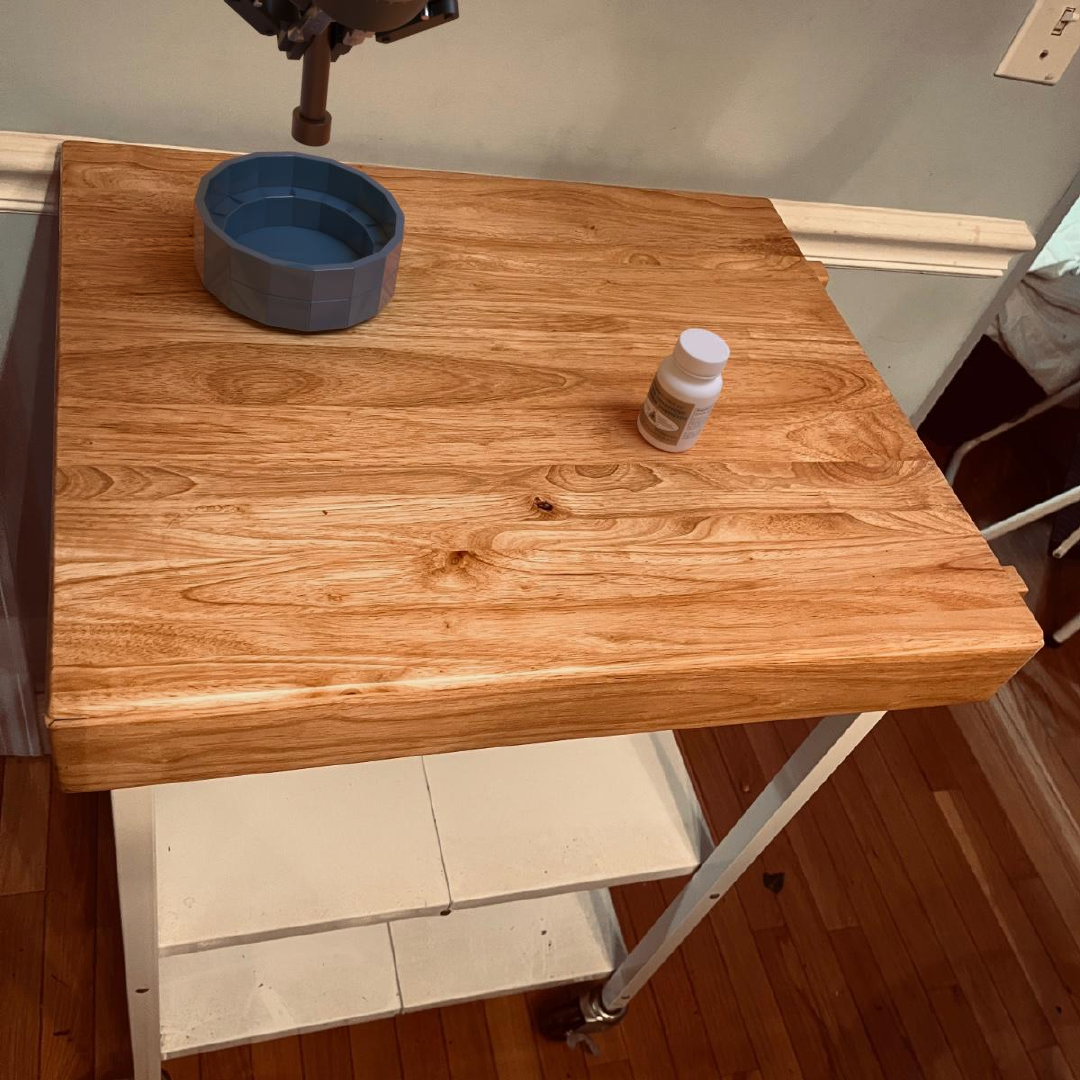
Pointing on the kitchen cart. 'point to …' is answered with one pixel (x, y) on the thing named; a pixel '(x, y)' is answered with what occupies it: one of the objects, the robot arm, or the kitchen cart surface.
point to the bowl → (297, 240)
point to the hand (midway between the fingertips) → (308, 44)
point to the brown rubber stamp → (314, 93)
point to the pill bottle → (684, 391)
